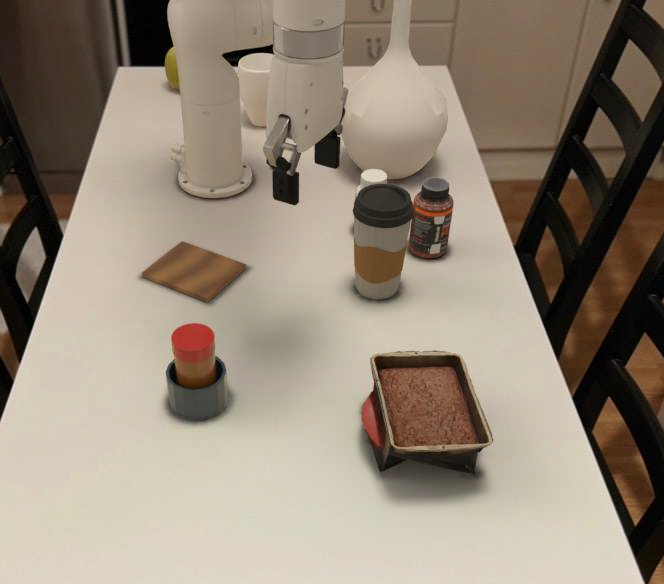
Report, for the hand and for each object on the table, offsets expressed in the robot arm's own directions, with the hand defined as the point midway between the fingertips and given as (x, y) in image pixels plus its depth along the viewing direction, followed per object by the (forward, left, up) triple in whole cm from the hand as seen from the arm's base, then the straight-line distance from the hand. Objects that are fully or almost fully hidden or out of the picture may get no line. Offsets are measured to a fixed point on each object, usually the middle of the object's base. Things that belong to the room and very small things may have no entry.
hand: (306, 183), depth 108 cm
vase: (-13, +50, -25) cm, 57 cm away
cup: (-6, -17, -25) cm, 30 cm away
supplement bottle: (+4, +30, -25) cm, 39 cm away
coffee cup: (+2, +17, -25) cm, 30 cm away
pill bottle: (-6, +30, -25) cm, 39 cm away
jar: (-6, -17, -24) cm, 30 cm away
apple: (-62, +57, -25) cm, 87 cm away
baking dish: (+21, -8, -25) cm, 34 cm away
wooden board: (-23, +6, -25) cm, 34 cm away
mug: (-42, +54, -25) cm, 72 cm away
